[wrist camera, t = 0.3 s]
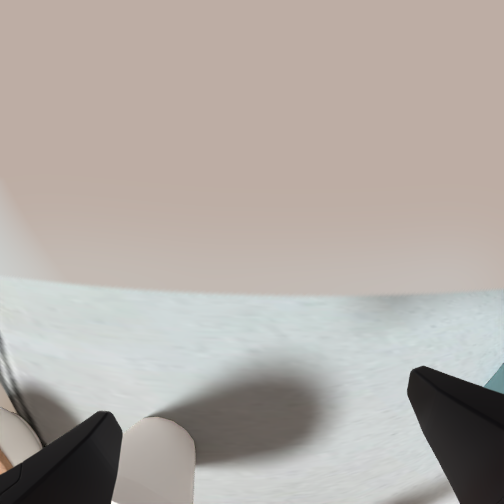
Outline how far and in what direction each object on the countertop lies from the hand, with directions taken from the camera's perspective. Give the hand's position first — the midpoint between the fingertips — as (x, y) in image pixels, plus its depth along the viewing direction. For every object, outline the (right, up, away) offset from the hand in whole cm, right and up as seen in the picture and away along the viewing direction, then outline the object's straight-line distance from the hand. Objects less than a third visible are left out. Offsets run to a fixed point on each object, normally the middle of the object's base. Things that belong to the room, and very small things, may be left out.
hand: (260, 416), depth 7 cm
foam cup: (-9, -13, +15) cm, 22 cm away
